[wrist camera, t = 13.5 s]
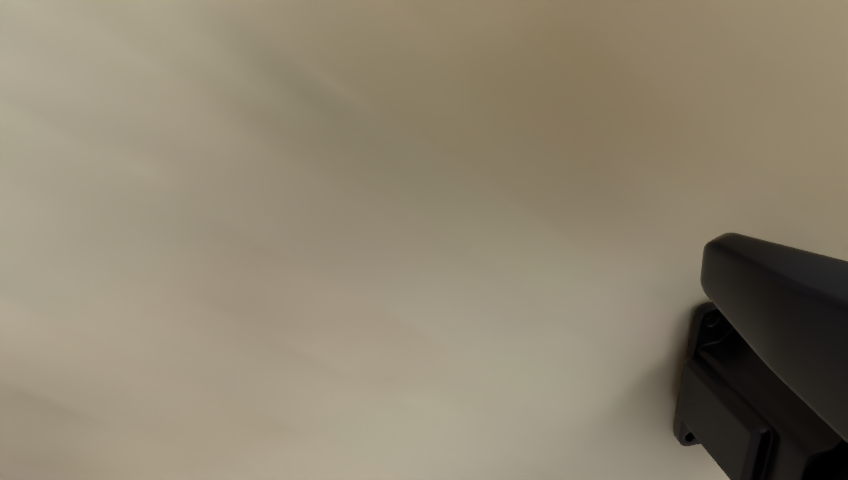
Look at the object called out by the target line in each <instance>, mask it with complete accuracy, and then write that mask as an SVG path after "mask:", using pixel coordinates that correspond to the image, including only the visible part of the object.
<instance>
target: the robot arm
mask: <svg viewBox="0 0 848 480" xmlns="http://www.w3.org/2000/svg"><path fill="white" fill-rule="evenodd" d="M701 285H702V288H703V290H704V292H705V293H706V295H707V296H708V297H709V298H710V300H711V301H712V302H708V303H705V304H702V305H701V306H700V307H698V308H697V310H696V311H695V313H694V316H693V321H692V327H691V333H690V339H689V345H688V350H687V356H686V362H685V365H684V371H683V377H682V383H681V389H680V395H679V401H678V407H677V416H676V422H675V428H674V436H675V437H676V438H677V440H678V441H679V442H680V444H681V445H683V446H691V445H696V444H702V446H703V447H704V448H705V449H706V450H707V452H708V453H709V454H710V455H711V457H712V458H713V459H714V460H715V461H716V463H717V464H718V465H719V466H720V467H721V469H722V470H723V471H724V472H725V473H726V475H727V476H728V477H729V478H730V480H848V261H844V260H840V259H836V258H832V257H828V256H824V255H820V254H816V253H812V252H808V251H804V250H800V249H796V248H792V247H788V246H784V245H780V244H776V243H772V242H769V241H765V240H761V239H757V238H753V237H749V236H745V235H741V234H737V233H725V234H723V235H721V236H719V237H717V238H715V239H713V240H712V241H710V242H708V243H707V244H706V245H705V247H704V251H703V260H702V269H701ZM710 315H711V316H710ZM709 316H710V317H709ZM708 317H709V318H708ZM707 318H708V319H707Z"/></svg>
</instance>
